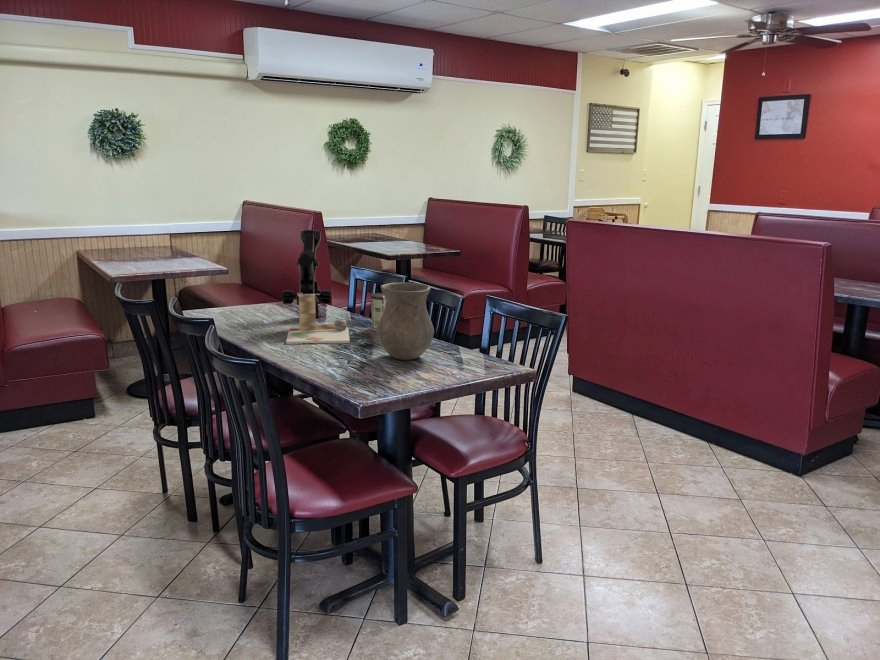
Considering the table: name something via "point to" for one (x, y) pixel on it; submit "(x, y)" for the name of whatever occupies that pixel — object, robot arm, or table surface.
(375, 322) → the coffee can
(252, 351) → the table surface
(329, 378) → the table surface
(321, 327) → the lever
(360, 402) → the table surface
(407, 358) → the vase
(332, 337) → the dial board
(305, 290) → the robot arm
